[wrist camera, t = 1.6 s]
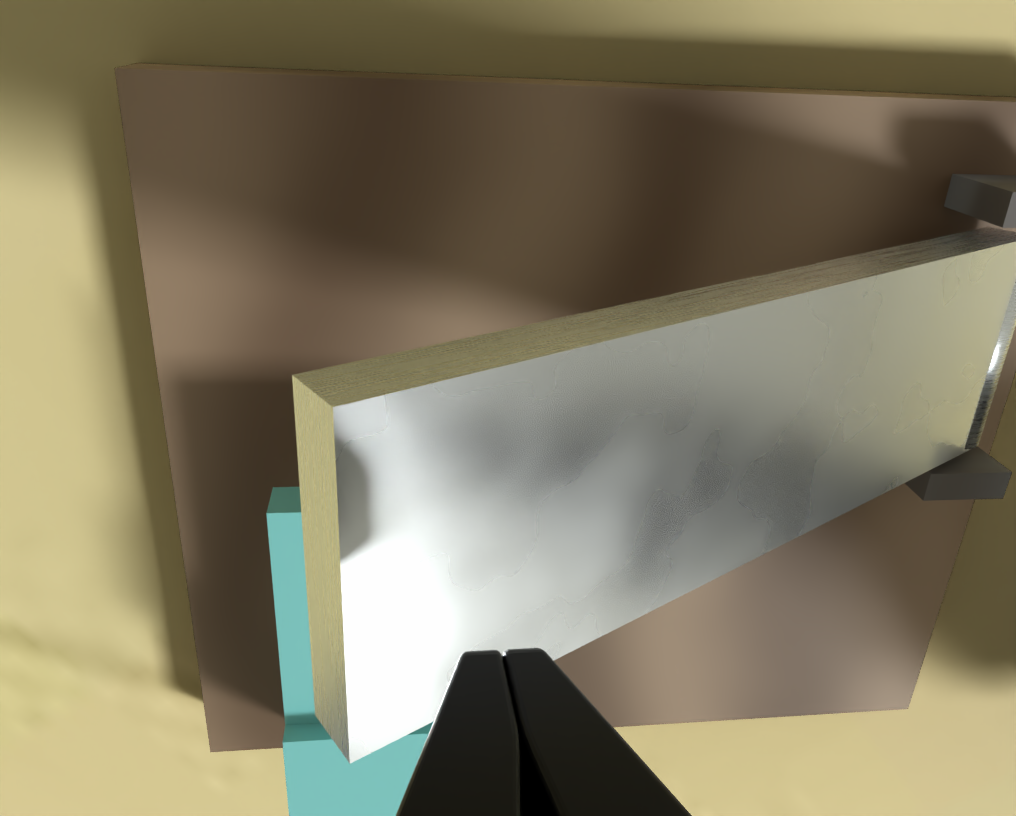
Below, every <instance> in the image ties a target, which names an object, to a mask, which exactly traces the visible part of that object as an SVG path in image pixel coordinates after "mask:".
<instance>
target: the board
mask: <svg viewBox="0 0 1016 816" xmlns="http://www.w3.org/2000/svg"><path fill="white" fill-rule="evenodd" d="M115 75H116V82H117V89H118V96H119V103H120V110H121V117H122V125H123V132H124V139H125V146H126V153H127V160H128V167H129V174H130V182H131V189H132V196H133V203H134V210H135V217H136V224H137V231H138V239H139V246H140V253H141V260H142V267H143V274H144V281H145V289H146V296H147V303H148V310H149V317H150V324H151V331H152V338H153V346H154V353H155V360H156V367H157V374H158V381H159V388H160V395H161V403H162V410H163V417H164V424H165V431H166V438H167V445H168V452H169V460H170V467H171V474H172V481H173V488H174V495H175V502H176V509H177V517H178V524H179V531H180V538H181V545H182V552H183V559H184V566H185V574H186V581H187V588H188V595H189V602H190V609H191V616H192V624H193V631H194V638H195V645H196V652H197V659H198V666H199V673H200V681H201V688H202V695H203V702H204V709H205V716H206V723H207V730H208V738H209V745H210V752H221V751H237V750H253V749H269V748H283V736H284V729H285V718H284V706H283V695H282V684H281V672H280V661H279V650H278V638H277V627H276V616H275V605H274V593H273V582H272V571H271V559H270V548H269V537H268V525H267V514H266V513H267V509H268V505H269V501H270V497H271V493H272V489H273V487H300V486H299V471H298V457H297V442H296V427H295V413H294V398H293V383H292V375H294V374H298V373H303V372H308V371H312V370H317V369H322V368H326V367H331V366H336V365H341V364H345V363H350V362H355V361H359V360H364V359H369V358H373V357H378V356H383V355H387V354H392V353H397V352H402V351H406V350H411V349H416V348H420V347H425V346H430V345H434V344H439V343H444V342H448V341H453V340H458V339H463V338H467V337H472V336H477V335H481V334H486V333H491V332H495V331H500V330H505V329H509V328H514V327H519V326H524V325H528V324H533V323H538V322H542V321H547V320H552V319H556V318H561V317H566V316H570V315H575V314H580V313H585V312H589V311H594V310H599V309H603V308H608V307H613V306H617V305H622V304H627V303H631V302H636V301H641V300H646V299H650V298H655V297H660V296H664V295H669V294H674V293H678V292H683V291H688V290H692V289H697V288H702V287H707V286H711V285H716V284H721V283H725V282H730V281H735V280H739V279H744V278H749V277H753V276H758V275H763V274H768V273H772V272H777V271H782V270H786V269H791V268H796V267H800V266H805V265H810V264H814V263H819V262H824V261H829V260H833V259H838V258H843V257H847V256H852V255H857V254H861V253H866V252H871V251H875V250H880V249H885V248H890V247H894V246H899V245H904V244H908V243H913V242H918V241H922V240H927V239H932V238H936V237H941V236H946V235H951V234H955V233H960V232H965V231H969V230H974V229H979V228H983V227H992V228H997V229H1002V230H1006V231H1013V232H1016V97H1001V96H975V95H949V94H923V93H898V92H872V91H846V90H820V89H794V88H768V87H742V86H716V85H690V84H664V83H638V82H612V81H587V80H561V79H535V78H509V77H483V76H457V75H431V74H405V73H379V72H353V71H327V70H301V69H276V68H250V67H224V66H198V65H172V64H146V63H135V64H131V65H126V66H122V67H117V68H115ZM1015 372H1016V326H1015V329H1014V332H1013V336H1012V339H1011V342H1010V345H1009V349H1008V352H1007V355H1006V358H1005V361H1004V365H1003V368H1002V371H1001V374H1000V377H999V381H998V384H997V387H996V390H995V393H994V397H993V400H992V403H991V406H990V409H989V413H988V416H987V419H986V422H985V425H984V429H983V432H982V435H981V438H980V441H979V445H978V446H977V447H976V448H973V449H970V450H969V451H967V452H965V453H963V454H961V455H959V456H957V457H955V458H953V459H951V460H949V461H947V462H945V463H943V464H941V465H939V466H937V467H935V468H933V469H931V470H929V471H927V472H925V473H923V474H921V475H919V476H917V477H915V478H913V479H911V480H909V481H907V482H905V483H903V484H901V485H899V486H898V487H896V488H894V489H892V490H890V491H888V492H886V493H884V494H882V495H880V496H878V497H876V498H874V499H872V500H870V501H868V502H866V503H864V504H862V505H860V506H858V507H856V508H854V509H852V510H850V511H848V512H846V513H844V514H842V515H840V516H838V517H836V518H834V519H832V520H830V521H828V522H826V523H824V524H822V525H820V526H818V527H817V528H815V529H813V530H811V531H809V532H807V533H805V534H803V535H801V536H799V537H797V538H795V539H793V540H791V541H789V542H787V543H785V544H783V545H781V546H779V547H777V548H775V549H773V550H771V551H769V552H767V553H765V554H763V555H761V556H759V557H757V558H755V559H753V560H751V561H749V562H747V563H745V564H743V565H741V566H739V567H738V568H736V569H734V570H732V571H730V572H728V573H726V574H724V575H722V576H720V577H718V578H716V579H714V580H712V581H710V582H708V583H706V584H704V585H702V586H700V587H698V588H696V589H694V590H692V591H690V592H688V593H686V594H684V595H682V596H680V597H678V598H676V599H674V600H672V601H670V602H668V603H666V604H664V605H662V606H660V607H658V608H657V609H655V610H653V611H651V612H649V613H647V614H645V615H643V616H641V617H639V618H637V619H635V620H633V621H631V622H629V623H627V624H625V625H623V626H621V627H619V628H617V629H615V630H613V631H611V632H609V633H607V634H605V635H603V636H601V637H599V638H597V639H595V640H593V641H591V642H589V643H587V644H585V645H583V646H581V647H579V648H578V649H576V650H574V651H572V652H570V653H568V654H566V655H564V656H562V657H560V658H558V659H556V660H554V662H555V663H556V664H557V665H558V666H559V667H560V668H561V670H562V671H563V672H564V673H565V674H566V675H567V676H568V677H569V679H570V680H571V681H572V682H573V683H574V684H575V685H576V686H577V688H578V689H579V690H580V691H581V692H582V693H583V694H584V695H585V697H586V698H587V699H588V700H589V701H590V702H591V703H592V704H593V706H594V707H595V708H596V709H597V710H598V711H599V712H600V713H601V714H602V716H603V717H604V718H605V719H606V720H607V721H608V722H609V723H610V725H611V726H612V727H624V726H640V725H656V724H672V723H688V722H704V721H721V720H737V719H753V718H769V717H785V716H801V715H817V714H833V713H850V712H866V711H882V710H898V709H908V707H909V704H910V701H911V698H912V695H913V691H914V688H915V685H916V682H917V679H918V676H919V673H920V670H921V666H922V663H923V660H924V657H925V654H926V651H927V648H928V645H929V641H930V638H931V635H932V632H933V629H934V626H935V623H936V620H937V616H938V613H939V610H940V607H941V604H942V601H943V598H944V595H945V591H946V588H947V585H948V582H949V579H950V576H951V573H952V569H953V566H954V563H955V560H956V557H957V554H958V551H959V548H960V544H961V541H962V538H963V535H964V532H965V529H966V526H967V523H968V519H969V516H970V513H971V510H972V507H973V504H974V501H975V499H1003V497H1004V494H1005V491H1006V488H1007V485H1008V482H1009V479H1010V476H1011V474H1012V472H1011V471H1010V470H1008V469H1007V468H1006V467H1004V466H1003V465H1002V464H1000V463H999V462H998V461H996V460H995V459H994V458H992V457H991V456H990V455H989V454H990V451H991V448H992V444H993V441H994V438H995V435H996V432H997V429H998V426H999V423H1000V419H1001V416H1002V413H1003V410H1004V407H1005V404H1006V401H1007V397H1008V394H1009V391H1010V388H1011V385H1012V382H1013V379H1014V376H1015Z"/></svg>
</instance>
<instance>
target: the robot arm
mask: <svg viewBox="0 0 1016 816" xmlns="http://www.w3.org/2000/svg"><path fill="white" fill-rule="evenodd" d="M396 816H692V815H691V814H690V813H689V812H688V811H687V810H686V809H685V808H684V806H683V805H682V804H681V803H680V802H679V801H678V800H677V799H676V798H675V796H674V795H673V794H672V793H671V792H670V791H669V790H668V789H667V787H666V786H665V785H664V784H663V783H662V782H661V781H660V780H659V778H658V777H657V776H656V775H655V774H654V773H653V772H652V771H651V769H650V768H649V767H648V766H647V765H646V764H645V763H644V762H643V760H642V759H641V758H640V757H639V756H638V755H637V754H636V753H635V752H634V750H633V749H632V748H631V747H630V746H629V745H628V744H627V743H626V741H625V740H624V739H623V738H622V737H621V736H620V735H619V734H618V732H617V731H616V730H615V729H614V728H613V727H612V726H611V725H610V723H609V722H608V721H607V720H606V719H605V718H604V717H603V716H602V714H601V713H600V712H599V711H598V710H597V709H596V708H595V707H594V706H593V704H592V703H591V702H590V701H589V700H588V699H587V698H586V697H585V695H584V694H583V693H582V692H581V691H580V690H579V689H578V688H577V686H576V685H575V684H574V683H573V682H572V681H571V680H570V679H569V677H568V676H567V675H566V674H565V673H564V672H563V671H562V670H561V668H560V667H559V666H558V665H557V664H556V663H555V662H554V661H553V660H552V658H551V657H550V656H549V655H548V654H547V653H546V652H545V651H544V650H542V649H540V648H521V649H508V650H506V651H505V652H504V653H503V655H502V654H501V653H500V652H499V651H497V650H480V651H466V652H464V653H462V654H461V656H460V657H459V660H458V662H457V665H456V667H455V669H454V672H453V674H452V677H451V679H450V682H449V684H448V687H447V689H446V692H445V694H444V697H443V699H442V702H441V704H440V707H439V709H438V712H437V714H436V717H435V719H434V722H433V724H432V727H431V729H430V732H429V734H428V737H427V739H426V742H425V744H424V747H423V749H422V752H421V754H420V756H419V759H418V761H417V764H416V766H415V769H414V771H413V774H412V776H411V779H410V781H409V784H408V786H407V789H406V791H405V794H404V796H403V799H402V801H401V804H400V806H399V809H398V811H397V814H396Z"/></svg>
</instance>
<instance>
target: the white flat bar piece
mask: <svg viewBox="0 0 1016 816" xmlns="http://www.w3.org/2000/svg"><path fill="white" fill-rule="evenodd" d="M1015 326H1016V232H1013V231H1006V230H1002V229H997V228H992V227H983V228H979V229H974V230H969V231H965V232H960V233H955V234H951V235H946V236H941V237H936V238H932V239H927V240H922V241H918V242H913V243H908V244H904V245H899V246H894V247H890V248H885V249H880V250H875V251H871V252H866V253H861V254H857V255H852V256H847V257H843V258H838V259H833V260H829V261H824V262H819V263H814V264H810V265H805V266H800V267H796V268H791V269H786V270H782V271H777V272H772V273H768V274H763V275H758V276H753V277H749V278H744V279H739V280H735V281H730V282H725V283H721V284H716V285H711V286H707V287H702V288H697V289H692V290H688V291H683V292H678V293H674V294H669V295H664V296H660V297H655V298H650V299H646V300H641V301H636V302H631V303H627V304H622V305H617V306H613V307H608V308H603V309H599V310H594V311H589V312H585V313H580V314H575V315H570V316H566V317H561V318H556V319H552V320H547V321H542V322H538V323H533V324H528V325H524V326H519V327H514V328H509V329H505V330H500V331H495V332H491V333H486V334H481V335H477V336H472V337H467V338H463V339H458V340H453V341H448V342H444V343H439V344H434V345H430V346H425V347H420V348H416V349H411V350H406V351H402V352H397V353H392V354H387V355H383V356H378V357H373V358H369V359H364V360H359V361H355V362H350V363H345V364H341V365H336V366H331V367H326V368H322V369H317V370H312V371H308V372H303V373H298V374H294V375H292V383H293V398H294V413H295V427H296V442H297V457H298V471H299V486H300V501H301V515H302V530H303V545H304V559H305V574H306V589H307V603H308V618H309V632H310V647H311V662H312V676H313V691H314V706H315V716H316V717H317V719H318V720H319V721H320V723H321V724H322V726H323V727H324V728H325V730H326V731H327V733H328V734H329V735H330V737H331V738H332V740H333V741H334V742H335V744H336V745H337V747H338V748H339V749H340V751H341V752H342V754H343V755H344V756H345V758H346V759H347V761H348V762H349V763H352V762H354V761H356V760H358V759H360V758H362V757H364V756H366V755H368V754H370V753H372V752H374V751H376V750H378V749H380V748H382V747H384V746H386V745H388V744H390V743H392V742H394V741H396V740H398V739H400V738H402V737H404V736H406V735H408V734H410V733H412V732H414V731H416V730H418V729H419V728H421V727H423V726H425V725H427V724H429V723H431V722H433V721H434V719H435V717H436V714H437V712H438V709H439V707H440V704H441V702H442V699H443V697H444V694H445V692H446V689H447V687H448V684H449V682H450V679H451V677H452V674H453V672H454V669H455V667H456V665H457V662H458V660H459V657H460V656H461V654H462V653H464V652H466V651H480V650H497V651H499V652H500V653H501V654H502V655H503V653H504V652H505V651H506V650H508V649H521V648H540V649H542V650H544V651H545V652H546V653H547V654H548V655H549V656H550V657H551V658H552V660H553V661H554V660H556V659H558V658H560V657H562V656H564V655H566V654H568V653H570V652H572V651H574V650H576V649H578V648H579V647H581V646H583V645H585V644H587V643H589V642H591V641H593V640H595V639H597V638H599V637H601V636H603V635H605V634H607V633H609V632H611V631H613V630H615V629H617V628H619V627H621V626H623V625H625V624H627V623H629V622H631V621H633V620H635V619H637V618H639V617H641V616H643V615H645V614H647V613H649V612H651V611H653V610H655V609H657V608H658V607H660V606H662V605H664V604H666V603H668V602H670V601H672V600H674V599H676V598H678V597H680V596H682V595H684V594H686V593H688V592H690V591H692V590H694V589H696V588H698V587H700V586H702V585H704V584H706V583H708V582H710V581H712V580H714V579H716V578H718V577H720V576H722V575H724V574H726V573H728V572H730V571H732V570H734V569H736V568H738V567H739V566H741V565H743V564H745V563H747V562H749V561H751V560H753V559H755V558H757V557H759V556H761V555H763V554H765V553H767V552H769V551H771V550H773V549H775V548H777V547H779V546H781V545H783V544H785V543H787V542H789V541H791V540H793V539H795V538H797V537H799V536H801V535H803V534H805V533H807V532H809V531H811V530H813V529H815V528H817V527H818V526H820V525H822V524H824V523H826V522H828V521H830V520H832V519H834V518H836V517H838V516H840V515H842V514H844V513H846V512H848V511H850V510H852V509H854V508H856V507H858V506H860V505H862V504H864V503H866V502H868V501H870V500H872V499H874V498H876V497H878V496H880V495H882V494H884V493H886V492H888V491H890V490H892V489H894V488H896V487H898V486H899V485H901V484H903V483H905V482H907V481H909V480H911V479H913V478H915V477H917V476H919V475H921V474H923V473H925V472H927V471H929V470H931V469H933V468H935V467H937V466H939V465H941V464H943V463H945V462H947V461H949V460H951V459H953V458H955V457H957V456H959V455H961V454H963V453H965V452H967V451H969V450H970V449H973V448H976V447H977V446H978V445H979V441H980V438H981V435H982V432H983V429H984V425H985V422H986V419H987V416H988V413H989V409H990V406H991V403H992V400H993V397H994V393H995V390H996V387H997V384H998V381H999V377H1000V374H1001V371H1002V368H1003V365H1004V361H1005V358H1006V355H1007V352H1008V349H1009V345H1010V342H1011V339H1012V336H1013V332H1014V329H1015Z"/></svg>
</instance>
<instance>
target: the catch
mask: <svg viewBox="0 0 1016 816" xmlns="http://www.w3.org/2000/svg"><path fill="white" fill-rule="evenodd" d="M266 514H267V525H268V537H269V548H270V559H271V571H272V582H273V593H274V605H275V616H276V627H277V638H278V650H279V661H280V672H281V684H282V695H283V706H284V718H285V729H284V736H283V753H284V764H285V775H286V786H287V797H288V808H289V816H396V814H397V811H398V809H399V806H400V804H401V801H402V799H403V796H404V794H405V791H406V789H407V786H408V784H409V781H410V779H411V776H412V774H413V771H414V769H415V766H416V764H417V761H418V759H419V756H420V754H421V752H422V749H423V747H424V744H425V742H426V739H427V737H428V734H429V732H430V729H431V727H432V724H433V722H434V721H433V722H431V723H429V724H427V725H425V726H423V727H421V728H419V729H418V730H416V731H414V732H412V733H410V734H408V735H406V736H404V737H402V738H400V739H398V740H396V741H394V742H392V743H390V744H388V745H386V746H384V747H382V748H380V749H378V750H376V751H374V752H372V753H370V754H368V755H366V756H364V757H362V758H360V759H358V760H356V761H354V762H352V763H349V762H348V761H347V759H346V758H345V756H344V755H343V754H342V752H341V751H340V749H339V748H338V747H337V745H336V744H335V742H334V741H333V740H332V738H331V737H330V735H329V734H328V733H327V731H326V730H325V728H324V727H323V726H322V724H321V723H320V721H319V720H318V719H317V717H316V716H315V706H314V691H313V676H312V662H311V647H310V632H309V618H308V603H307V589H306V574H305V559H304V545H303V530H302V515H301V501H300V487H273V489H272V493H271V497H270V501H269V505H268V509H267V513H266Z"/></svg>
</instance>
